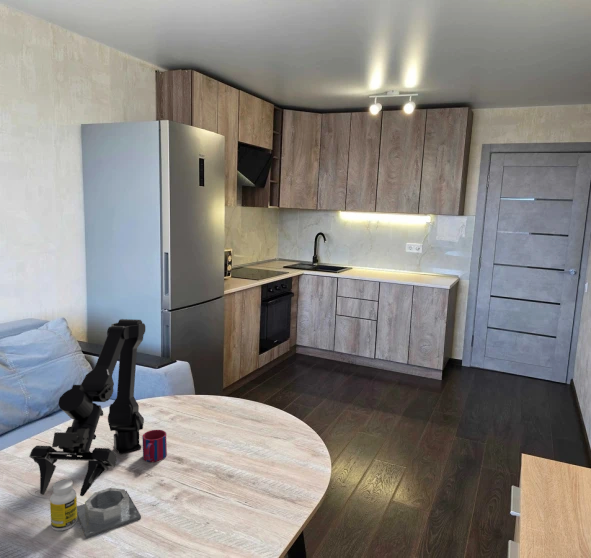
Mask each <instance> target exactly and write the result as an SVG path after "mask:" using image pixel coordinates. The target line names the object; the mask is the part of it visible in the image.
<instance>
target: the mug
mask: <svg viewBox="0 0 591 558" xmlns="http://www.w3.org/2000/svg"><path fill="white" fill-rule="evenodd" d="M141 439H142V458H143V460H144V462H147V463H156V462H157V463H158V462H160V461H163V460H164V459H165V458H166V457H167V456H168V455H167V454H168V451H167V444H168V443H167V432H166V431H165V430H163V429H162V430H161V429H151V430H148V431H146V432H144V433H143V434H142V438H141Z"/></svg>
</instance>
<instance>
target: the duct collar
mask: <svg viewBox="0 0 591 558" xmlns="http://www.w3.org/2000/svg"><path fill="white" fill-rule="evenodd" d="M77 519H78V521H79V523H80V525H81V528H82V531H83V533H84V537H85V539H88V538H91V537H94V536H97V535H99V534H103V533H104V532H107V531H110V530H113V529H116V528H118V527H119V528H120V527H122V526H125V525H126V524H130V523H133V522H136V521H138V520H141V519H142V515H141V513H140V511H139V510H138V508H137V506H136V505H135V503H134V501H133V500H132V498H131V496H130V494H129V492H128V490H125V489H124V488H116V487H109V488H105V489H103V490H98V491H96V492H94V493H93V494H92V495H90V496H89V497H88V498H87V499H86V501H85V502H84V503H83V504H81V505H77Z"/></svg>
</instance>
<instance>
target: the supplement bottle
mask: <svg viewBox="0 0 591 558" xmlns="http://www.w3.org/2000/svg"><path fill="white" fill-rule="evenodd" d="M73 483H74V482H73V480H71V479H69V478H68V479H67V478H65V479H61V480H58V481H56V482H55V483H54V484H53V486H52V493H51V495H50V498H49V508H50V525H51V528H52V529H53V530H54V531H65V530H68V529H70V528H72V527H74V525H76V523H77V521H78V515H77V506H78V505H77V504H78V503H77V501H78V500H77V491H76V489H74V488H73V486H74V485H73Z"/></svg>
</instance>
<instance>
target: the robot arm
mask: <svg viewBox="0 0 591 558" xmlns="http://www.w3.org/2000/svg"><path fill="white" fill-rule="evenodd" d="M106 330H107V332H106V338H105V340H104V343H103V346H102V348H101V351H100V353H99V356H98V358H97V361H96V363H95V365H94V368H93V369H92V370H90V371H89V372H88V373H87V374H85V376H84V378H83V380H82V382H81V384H73V385H72V387H71V388H70V389H68V390H66V391H65V392H63V394H62V395H60V397H59V399H58V406H59V409H61V411H62V412H64V413H65V415H67V416H68V417H69V418H70V419H72V424H71V426H67V428H66V430H65V431H64V432H59V431H58V432H54V435H53V438H52V439H53V440H52V445H35V446H34V447H33V448H32V449H31V452H30V453H29V458H30V459H31V460H33V461H34V463H36V464H38V467H39V478H40V479H39V482H40V483H39V484H40V485H39V486H40V487H39V493H40V495H45V493H46V491H47V489H48V486H49V485H50V482H51V480H52V477H53V475H54V472H55V470H56V468H57V466H56V465H55V463H56V462H57V461H58V460H60V461H62V460H63V461H85V462H86V461H87V472H86V474H85V477H84V479H83V483H82V484H81V485H82V486H81V488H80V491H79V496H80V497H84V496H85V495H86V493H87V492H88V490H89V489H90V488H91V486H93V485H94V483H95V482H96V480H97V479H99V477H100V476H101V475H102V474H103V473H104V471H109V469H110V468H111V467H112V468H114V467H115V466H116V463H117V458H118V457H117V455H116V453H115V452H113V450H112V449H111V448H109V447H108V448H107V447H94V449H92V451H90V449H91V446H92V443H93V440H96V438H97V434H96V431H97V428H98V427H97V426H98V424H99V420H100V418H101V417H103V416H104V411H103V409H102V406H101V405H100V404H99V405H98V404H97V403H107V402H109V400H110V399H111V398H112V396H113V394H114V386H115V382H114V380H113V373H114V371H115V368H116V365H117V362H118V363H119V364H118V375H117V376H118V377H117V390H116V398H115V399H114V401H113V402H112V403H110V404H109V408H108V411H109V412H108V414H107V422H108V427H109V430H110V431H111V432H112V431H113V432H115V433H114V434H113V447H114V449H115V450H116V451H117V452H118V454H119V455H122V454H126V453H129V452H133V451H137V450H140V449H142V445H141V444H140V431H141V430H143V429H144V423H145V418H144V416H142V414H141V413H140V411H139V403H138V402H137V400H136V398H135V381H136V369H137V368H136V366H137V352H138V351H137V350H138V348H139V347H140V345H141V344H142V342H143V341H144V336H145V333H146V325H145V323H144V322H143V321H142V319H129V318H128V319H127V318H126V319H124V318H121V319H119V320H118V322H114V323H111V325H110V326H108V328H107V329H106ZM118 360H119V361H118ZM55 448H58V449H59V450H57V449H55ZM109 467H110V468H109Z"/></svg>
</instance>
